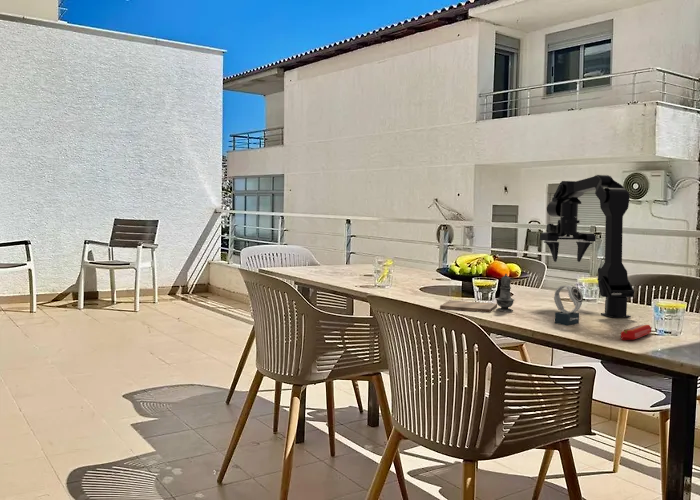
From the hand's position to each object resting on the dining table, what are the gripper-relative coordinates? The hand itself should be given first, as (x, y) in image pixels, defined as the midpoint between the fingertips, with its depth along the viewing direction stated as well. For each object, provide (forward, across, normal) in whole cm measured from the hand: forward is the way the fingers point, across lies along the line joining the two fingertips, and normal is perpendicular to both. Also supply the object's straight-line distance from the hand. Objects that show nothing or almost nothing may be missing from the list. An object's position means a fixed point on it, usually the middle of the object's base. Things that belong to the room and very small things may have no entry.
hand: (566, 261), depth 232 cm
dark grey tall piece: (+15, +30, +13) cm, 36 cm away
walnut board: (+15, +39, +7) cm, 43 cm away
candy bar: (+15, +16, +59) cm, 63 cm away
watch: (+15, +23, +38) cm, 47 cm away
